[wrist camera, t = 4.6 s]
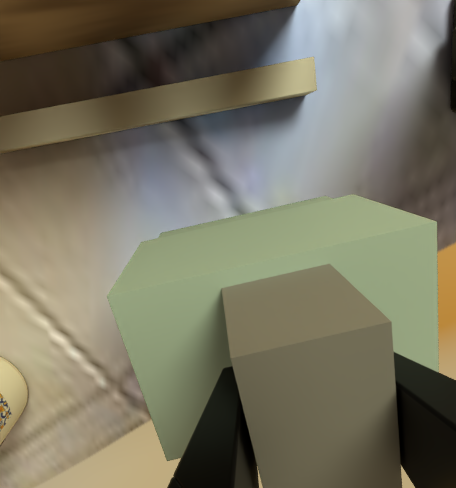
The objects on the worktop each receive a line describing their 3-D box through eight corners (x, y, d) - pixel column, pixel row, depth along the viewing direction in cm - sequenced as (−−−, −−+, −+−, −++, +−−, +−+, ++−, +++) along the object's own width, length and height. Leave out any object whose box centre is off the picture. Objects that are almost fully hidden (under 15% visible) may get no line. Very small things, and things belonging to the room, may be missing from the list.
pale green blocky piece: (335, 188, 15) (553, 259, 6) (347, 300, 17) (528, 494, 8) (148, 230, 15) (57, 373, 6) (181, 338, 17) (153, 582, 7)
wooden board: (292, -39, 17) (401, -267, 8) (305, 95, 19) (404, 48, 10) (-79, 31, 17) (-445, -111, 7) (-27, 158, 19) (-260, 175, 9)
